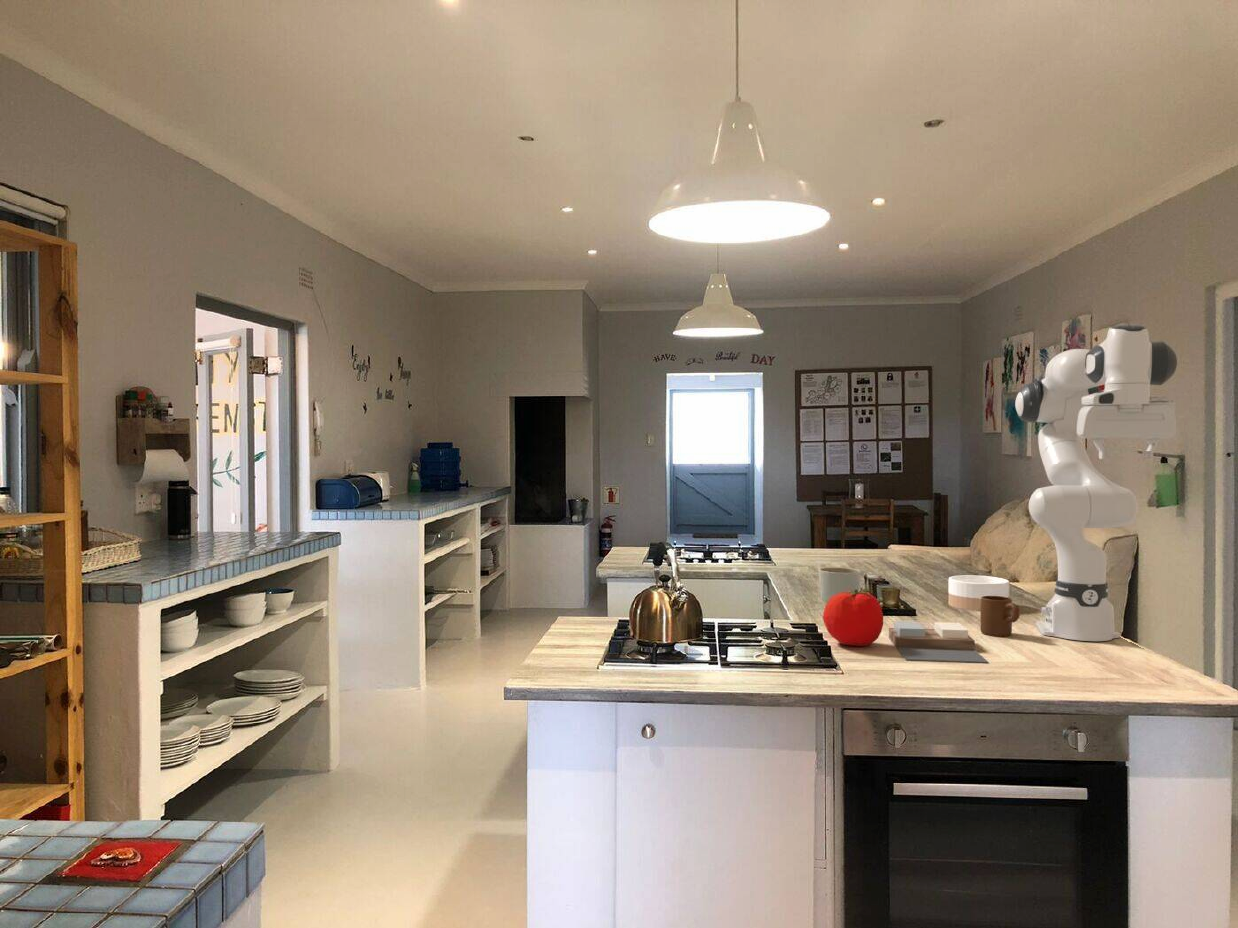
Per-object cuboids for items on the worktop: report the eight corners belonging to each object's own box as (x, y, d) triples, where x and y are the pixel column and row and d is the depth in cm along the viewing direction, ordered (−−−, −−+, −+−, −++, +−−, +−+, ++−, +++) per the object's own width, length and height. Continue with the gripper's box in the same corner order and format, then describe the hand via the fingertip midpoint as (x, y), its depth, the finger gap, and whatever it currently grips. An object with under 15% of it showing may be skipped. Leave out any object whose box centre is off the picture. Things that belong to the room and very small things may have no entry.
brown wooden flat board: (888, 637, 228) (888, 627, 228) (962, 639, 225) (962, 630, 225) (896, 648, 216) (897, 638, 216) (974, 650, 213) (974, 640, 213)
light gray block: (893, 628, 227) (893, 621, 227) (918, 629, 226) (918, 621, 226) (899, 636, 218) (899, 628, 218) (925, 637, 217) (925, 629, 217)
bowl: (969, 612, 263) (969, 584, 262) (937, 602, 279) (937, 575, 279) (1021, 610, 266) (1021, 582, 266) (986, 600, 283) (986, 574, 283)
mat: (896, 648, 216) (896, 647, 216) (974, 650, 213) (974, 649, 213) (906, 660, 204) (906, 658, 204) (988, 663, 202) (988, 661, 202)
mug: (1030, 639, 226) (1031, 602, 226) (1005, 641, 224) (1006, 604, 224) (998, 630, 238) (998, 594, 237) (974, 631, 235) (974, 596, 235)
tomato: (895, 647, 217) (895, 591, 217) (854, 654, 210) (855, 596, 210) (847, 635, 231) (847, 582, 230) (808, 641, 223) (808, 587, 223)
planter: (865, 609, 267) (865, 572, 267) (824, 609, 267) (824, 572, 267) (853, 601, 280) (854, 567, 279) (814, 601, 279) (814, 567, 279)
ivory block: (934, 630, 225) (934, 622, 225) (959, 630, 224) (959, 622, 224) (942, 637, 216) (942, 629, 216) (968, 638, 216) (968, 630, 215)
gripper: (1167, 397, 202) (1166, 458, 202) (1074, 398, 203) (1073, 458, 204) (1183, 396, 195) (1181, 459, 196) (1086, 396, 197) (1085, 459, 198)
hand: (1125, 459), depth 200 cm, fingers open, 8 cm apart
